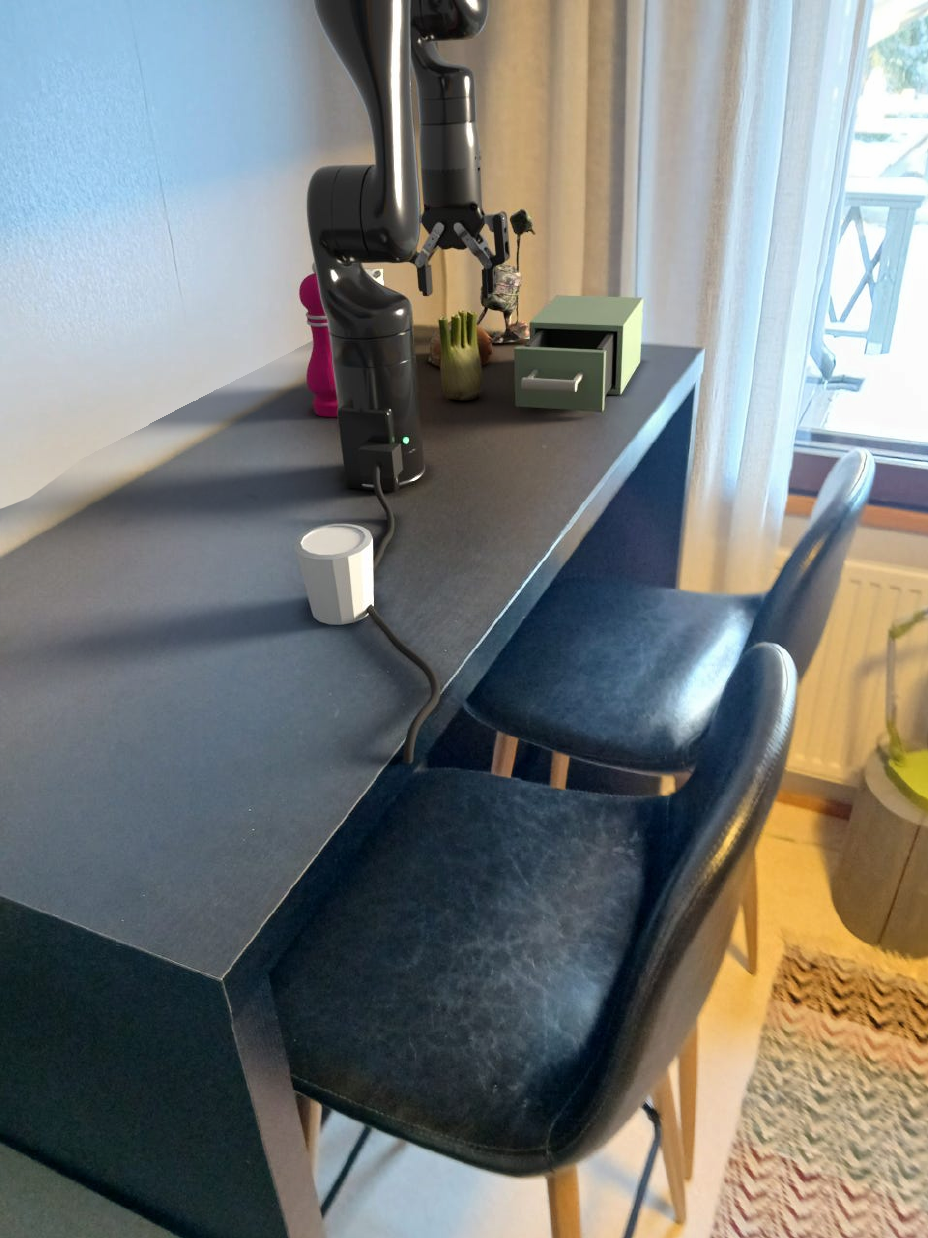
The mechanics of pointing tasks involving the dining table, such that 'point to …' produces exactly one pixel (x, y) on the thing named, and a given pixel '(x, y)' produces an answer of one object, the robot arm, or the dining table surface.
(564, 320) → the green drawer cabinet
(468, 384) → the fennel bulb
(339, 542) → the shot glass
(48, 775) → the dining table surface
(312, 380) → the pepper mill
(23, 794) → the dining table surface
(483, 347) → the bread roll
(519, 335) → the grey irregular tall piece
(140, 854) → the dining table surface
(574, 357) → the green pull-out drawer
